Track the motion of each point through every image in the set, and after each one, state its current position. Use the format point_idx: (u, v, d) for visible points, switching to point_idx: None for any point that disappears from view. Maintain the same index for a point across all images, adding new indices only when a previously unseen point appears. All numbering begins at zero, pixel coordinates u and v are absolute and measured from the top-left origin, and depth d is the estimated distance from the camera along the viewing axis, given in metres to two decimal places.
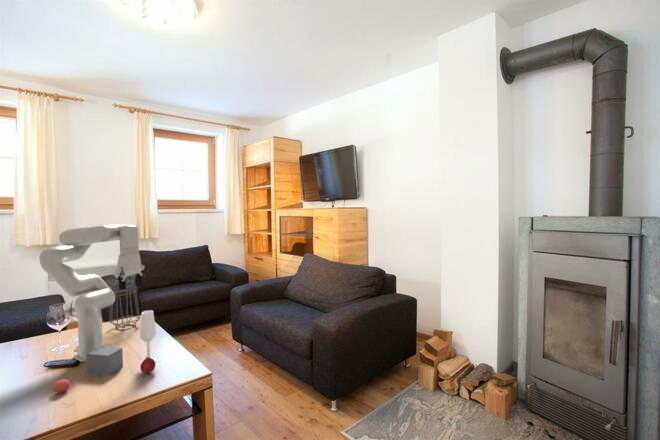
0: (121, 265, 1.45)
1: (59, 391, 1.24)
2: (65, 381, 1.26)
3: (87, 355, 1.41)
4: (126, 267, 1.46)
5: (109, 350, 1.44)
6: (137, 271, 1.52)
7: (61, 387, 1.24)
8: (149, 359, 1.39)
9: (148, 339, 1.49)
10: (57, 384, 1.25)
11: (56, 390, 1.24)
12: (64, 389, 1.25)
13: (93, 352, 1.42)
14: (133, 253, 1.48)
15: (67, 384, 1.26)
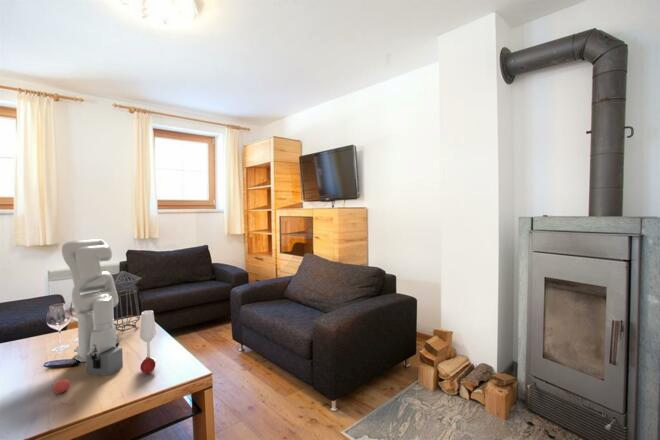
0: (94, 342, 1.38)
1: (59, 391, 1.24)
2: (65, 381, 1.26)
3: None
4: (99, 344, 1.39)
5: (109, 350, 1.44)
6: (112, 345, 1.45)
7: (61, 387, 1.24)
8: (149, 359, 1.39)
9: (148, 339, 1.49)
10: (57, 384, 1.25)
11: (56, 390, 1.24)
12: (64, 389, 1.25)
13: None
14: (107, 329, 1.41)
15: (67, 384, 1.26)
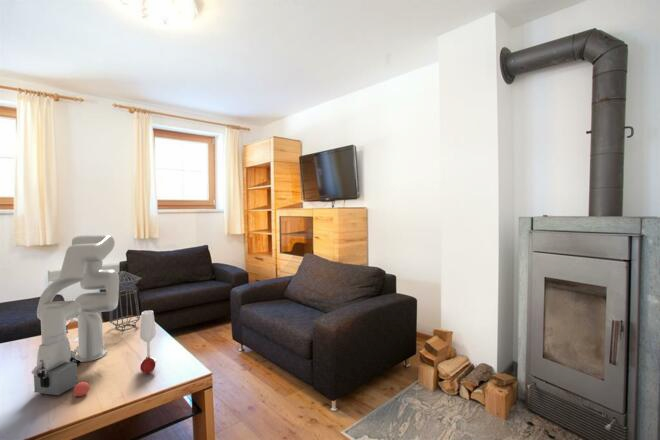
0: (41, 358, 1.21)
1: (75, 387, 1.23)
2: None
3: None
4: (47, 360, 1.22)
5: (61, 366, 1.27)
6: (64, 360, 1.28)
7: None
8: (149, 359, 1.39)
9: (148, 339, 1.49)
10: None
11: (74, 391, 1.22)
12: None
13: None
14: (57, 342, 1.24)
15: None
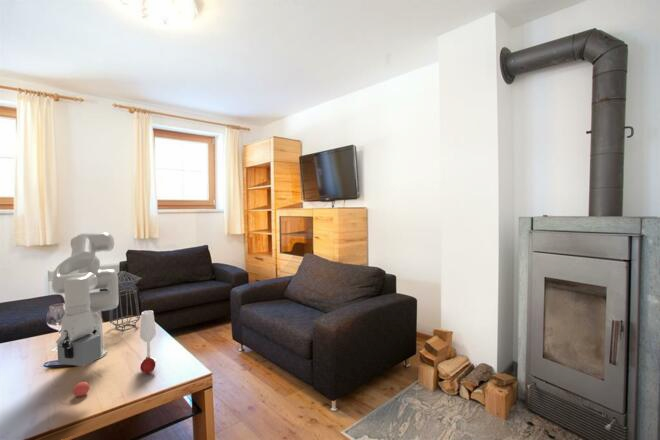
0: (65, 328, 1.19)
1: (75, 387, 1.23)
2: None
3: None
4: (72, 330, 1.19)
5: (84, 337, 1.24)
6: (88, 332, 1.26)
7: None
8: (149, 359, 1.39)
9: (148, 339, 1.49)
10: None
11: (75, 391, 1.22)
12: None
13: None
14: (81, 312, 1.22)
15: None
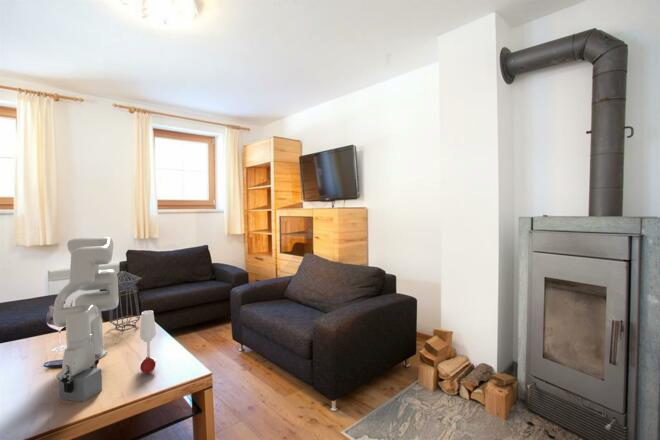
0: (67, 363, 1.19)
1: None
2: None
3: None
4: (73, 365, 1.20)
5: (86, 372, 1.25)
6: (89, 365, 1.26)
7: None
8: (149, 359, 1.39)
9: (148, 339, 1.49)
10: None
11: None
12: None
13: None
14: (82, 346, 1.22)
15: None
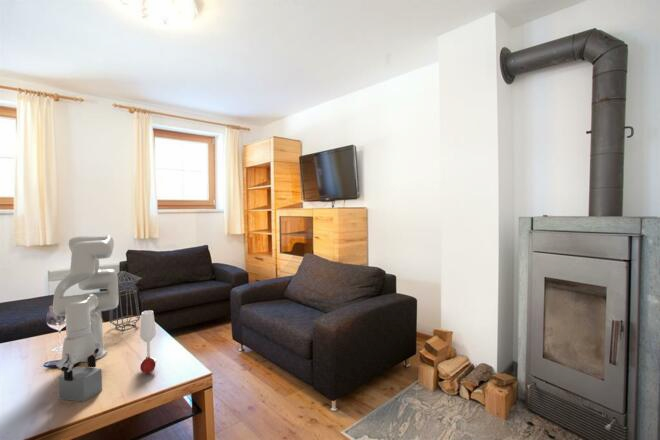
0: (67, 351, 1.20)
1: None
2: None
3: (60, 378, 1.22)
4: (73, 354, 1.20)
5: (86, 372, 1.25)
6: (89, 354, 1.27)
7: None
8: (149, 359, 1.39)
9: (148, 339, 1.49)
10: None
11: None
12: None
13: None
14: (82, 336, 1.22)
15: None
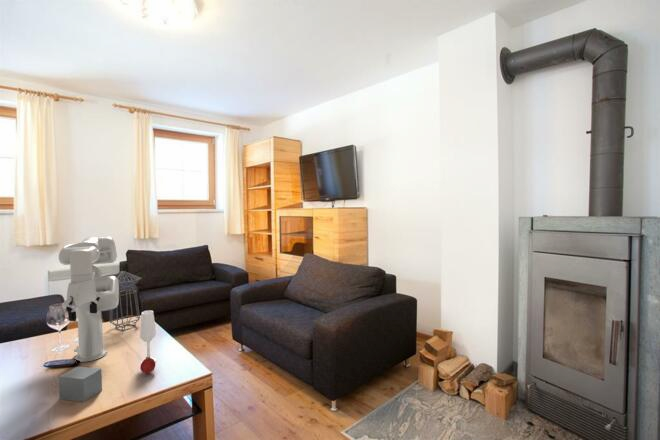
0: (71, 294, 1.32)
1: None
2: None
3: (60, 378, 1.22)
4: (76, 296, 1.32)
5: (86, 372, 1.25)
6: (91, 299, 1.39)
7: None
8: (149, 359, 1.39)
9: (148, 339, 1.49)
10: None
11: None
12: None
13: (67, 374, 1.23)
14: (85, 280, 1.35)
15: None
